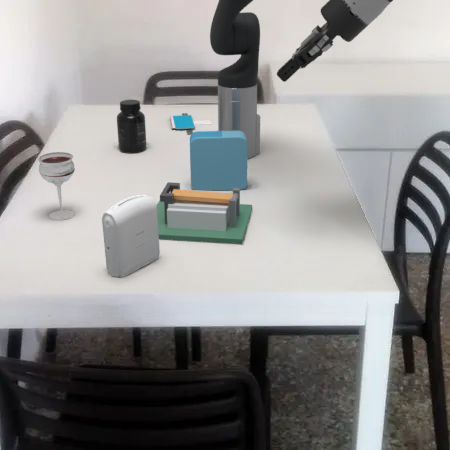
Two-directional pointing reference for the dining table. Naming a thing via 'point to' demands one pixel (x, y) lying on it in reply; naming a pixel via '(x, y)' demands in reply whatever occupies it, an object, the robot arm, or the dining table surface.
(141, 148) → the supplement bottle
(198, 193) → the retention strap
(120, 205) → the photo printer
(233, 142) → the blue rounded block
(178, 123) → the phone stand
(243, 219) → the processor board
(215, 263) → the dining table surface
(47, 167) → the wineglass
